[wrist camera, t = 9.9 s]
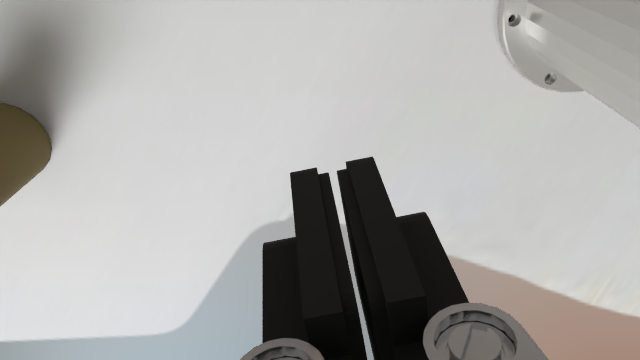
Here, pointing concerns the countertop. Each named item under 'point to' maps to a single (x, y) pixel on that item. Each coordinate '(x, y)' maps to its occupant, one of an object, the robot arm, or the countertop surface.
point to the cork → (20, 150)
